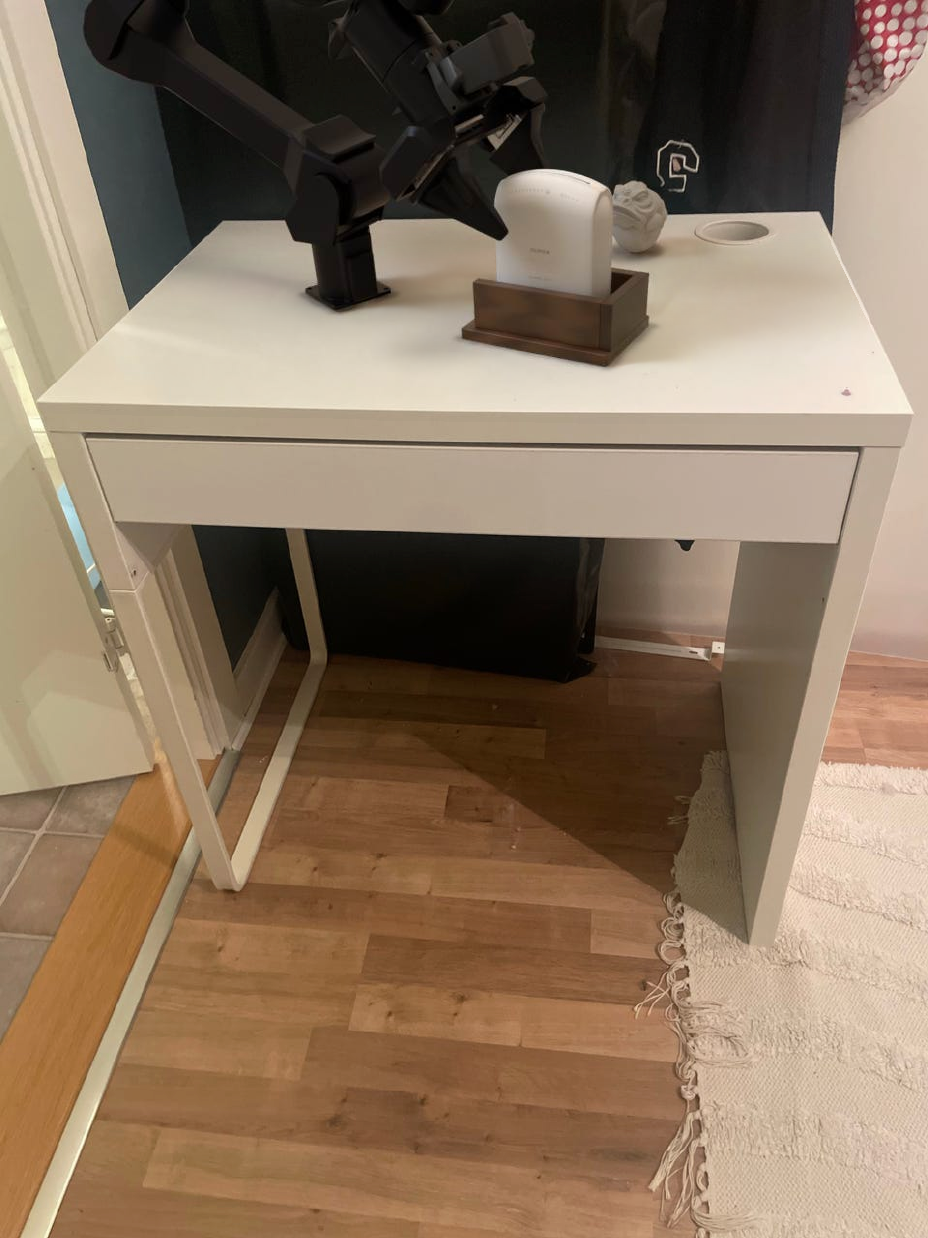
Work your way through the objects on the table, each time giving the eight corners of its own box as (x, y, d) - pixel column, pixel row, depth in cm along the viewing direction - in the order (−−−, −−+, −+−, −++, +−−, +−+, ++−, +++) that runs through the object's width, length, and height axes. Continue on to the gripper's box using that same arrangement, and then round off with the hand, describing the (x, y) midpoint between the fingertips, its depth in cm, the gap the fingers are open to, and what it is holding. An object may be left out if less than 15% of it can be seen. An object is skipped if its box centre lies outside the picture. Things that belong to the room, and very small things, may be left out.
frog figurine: (590, 256, 98) (591, 184, 94) (629, 236, 102) (632, 167, 98) (639, 267, 95) (643, 194, 91) (677, 247, 99) (683, 175, 94)
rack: (461, 338, 84) (458, 282, 81) (510, 302, 90) (509, 248, 87) (606, 366, 78) (608, 307, 75) (648, 326, 84) (652, 269, 81)
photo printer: (490, 320, 85) (484, 172, 77) (515, 303, 87) (512, 158, 79) (594, 341, 80) (598, 185, 72) (617, 322, 83) (624, 170, 75)
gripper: (396, -3, 65) (540, 185, 67) (526, -39, 77) (644, 122, 79) (322, 116, 73) (452, 280, 76) (449, 67, 85) (558, 210, 87)
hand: (531, 219), depth 79 cm, fingers open, 9 cm apart
